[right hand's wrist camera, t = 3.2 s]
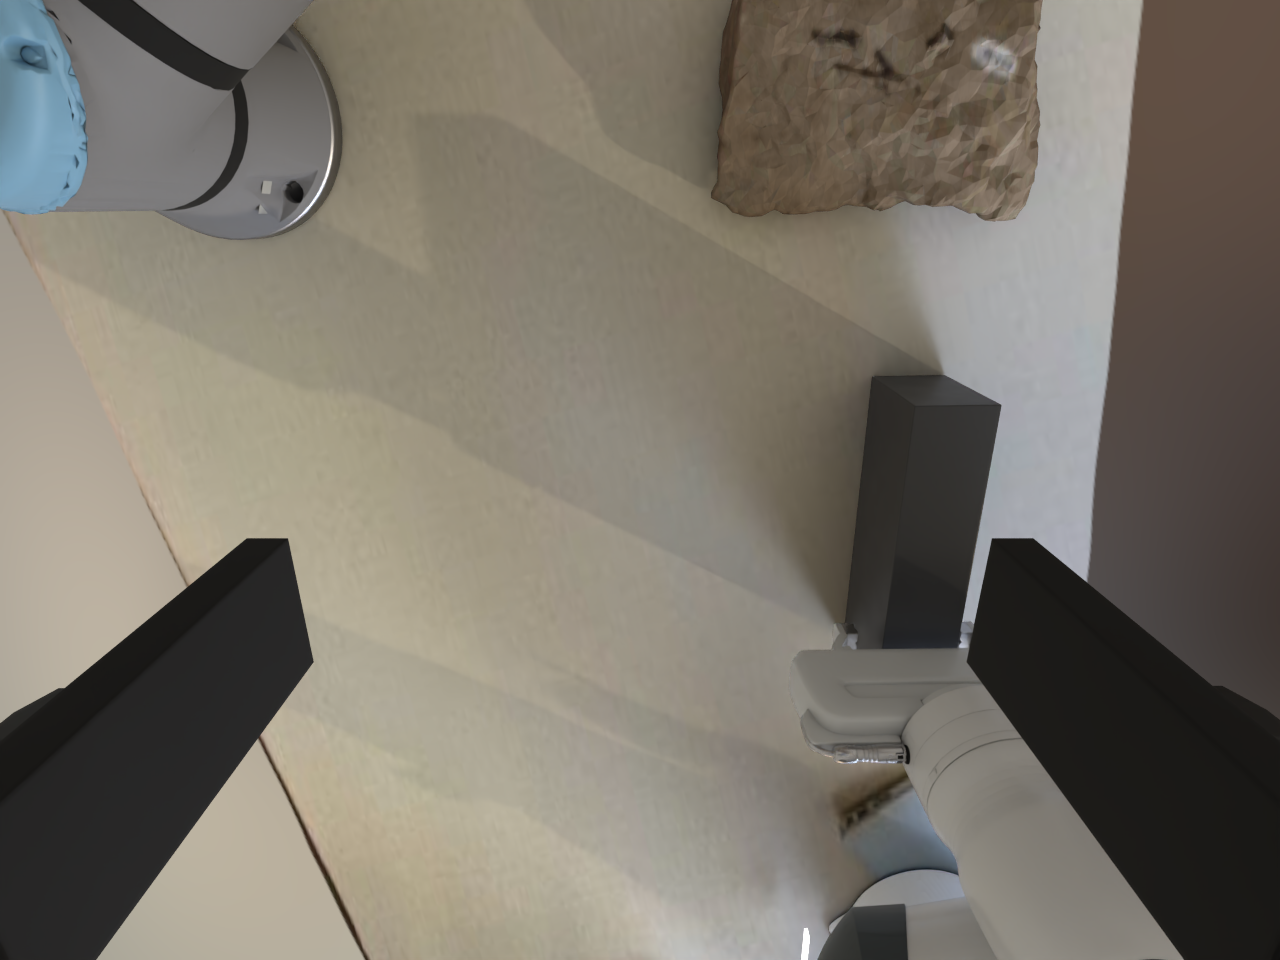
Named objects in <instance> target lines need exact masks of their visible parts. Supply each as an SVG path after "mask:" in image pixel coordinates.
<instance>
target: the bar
mask: <svg viewBox="0 0 1280 960" xmlns="http://www.w3.org/2000/svg"><path fill="white" fill-rule="evenodd" d="M1000 410H1001V404H999V403H997V402H995V401H993V400H991V399H989V398H987V397H985V396H983V395H981V394H980V393H978V392H976V391H974V390H972V389H970V388H968V387H966V386H964V385H962V384H960V383H959V382H957V381H955V380H953V379H951V378H949V377H947V376H945V375H932V376H873V377H872V383H871V392H870V401H869V410H868V419H867V428H866V438H865V447H864V456H863V465H862V474H861V483H860V492H859V501H858V510H857V519H856V529H855V538H854V547H853V556H852V565H851V574H850V583H849V592H848V601H847V611H846V620H845V623H853V624H854V628H855V629H856V630H857V632H858V641H857V642H856V645H857V649H926V648H957V646H958V641H959V635H960V630H961V624H962V619H963V613H964V608H965V602H966V597H967V591H968V586H969V580H970V575H971V569H972V564H973V558H974V553H975V547H976V542H977V536H978V531H979V526H980V520H981V515H982V509H983V504H984V498H985V493H986V487H987V482H988V476H989V471H990V465H991V460H992V454H993V449H994V443H995V438H996V432H997V427H998V421H999V416H1000Z"/></svg>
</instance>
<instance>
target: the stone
mask: <svg viewBox="0 0 1280 960" xmlns="http://www.w3.org/2000/svg"><path fill="white" fill-rule="evenodd" d="M1042 1H1043V0H732V4H731V8H730V13H729V16H728V20H727V23H726V26H725V29H724V31H723V40H722V50H721V63H720V72H719V87H720V91H721V95H722V104H723V112H722V120H721V123H720V126H719V129H718V132H717V133H718V137H719V147H718V154H717V158H718V178H717V183H716V184H715V186H714V188H713V190H712V192H711V198H713V199H715V200H717V201H719V202H721V203H723V204H725V205H726V206H727V207H728V208H729V209H730V210H731V211H732V212H733V213H737V214H740V215H743V216H746V217H756V216H762V215H764V214H766V213H768V212H770V211H772V210H774V209H775V210H777V211H780V212H781V213H782V214H806V213H811V212H815V211H831V210H835V209H838V208H839V207H841V206H843V205H852V206H865V207H868V208H870V209H872V210H876V209H877V210H879V211H882V210H885V209H888V208H891V207H892V206H894V205H896V204H898V203H900V202H903V201H907V202H909V203H911V204H913V205H928V206H932V207H937V206H954V207H956V208H958V209H961V210H963V211H965V212H967V213H976V214H977V215H978V216H979V217H980V218H982V219H983V220H986V221H1006V220H1011V219H1015V218H1016V217H1017V215H1018V213H1019V212H1020V211H1021V209H1022V208H1023V207H1024V206H1025V205H1026V202H1027V199H1028V196H1029V192H1030V189H1031V185H1032V184H1033V182H1034V176H1035V169H1036V167H1037V160H1038V143H1037V137H1038V131H1039V127H1040V121H1039V116H1040V111H1039V107H1038V103H1037V98H1036V97H1037V83H1036V80H1037V64H1036V62H1035V60H1034V59H1035V51H1036V42H1037V33H1038V31H1039V30H1040V26H1039V23H1040V18H1041V7H1042Z"/></svg>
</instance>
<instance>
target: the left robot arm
mask: <svg viewBox="0 0 1280 960" xmlns="http://www.w3.org/2000/svg"><path fill="white" fill-rule="evenodd" d="M973 628H974V624H973V623H972V622H971V621H969V622H962V624H961V630H960V635H959V641H958V646H957V648H926V649H857V645H856V642H857V641H858V632H857V630H856V629H855V628H854V624H853V623H834V626H833V635H832V638H833V645H832V650H803V651H800V652H799V653H798V654H797V655H796V656H795V657H794V658H793V660H792V662H791V667H790V678H789V692H790V696H791V699H792V702H793V704H794V707H795V709H796V711H797V713H798V715H799V717H800V719H801V720H800V725H801V728H802V731H803V735H804V738H805V741H806V743H807V745H808V747H809V748H810V749H811V750H812V751H814V752H818V753H820V754H822V755H825V756H828V757H833V759H834V761H835V762H837V763H842V764H854V763H857V762H873V763H903V766H904V768H905V770H906V772H907V774H908V776H909V779H910V781H911V783H912V785H913V787H914V789H915V791H916V793H917V796H918V798H919V800H920V802H921V804H922V806H923V808H924V810H925V813H926V815H927V817H928V819H929V821H930V823H931V825H932V827H933V829H934V831H935V832H936V834H937V835H938V837H939V838H940V840H941V841H942V842H943V843H944V844H945V845H946V846H947V847H948V848H949V850H950V851H951V852H952V854H953V855H954V857H955V859H956V862H957V867H958V874H959V876H958V875H956V874H953V873H950V872H946V871H940V870H913V871H907V872H903V873H899V874H896V875H893V876H890V877H887V878H885V879H883V880H881V881H879V882H877V883H876V884H874V885H873V886H871V887H870V888H869V889H867V890H866V891H865V892H864V893H863V894H862V895H861V896H860V897H859V898H858V899H857V901H856V902H855V904H854V905H853V907H851V908H850V909H849V911H848V912H847V913H846V914H844V915H842V916H841V917H839V918H838V919H836V920H835V921H834V922H832V923H831V925H830V926H829V932H830V936H829V938H828V939H827V941H826V943H825V945H824V947H823V949H822V951H821V953H820V955H819V957H818V960H1184V959H1183V958H1182V956H1181V955H1180V954H1179V952H1178V951H1177V950H1176V948H1175V947H1174V946H1173V944H1172V943H1171V941H1170V940H1169V939H1168V937H1167V936H1166V935H1165V933H1164V932H1163V930H1162V929H1161V928H1160V926H1159V925H1158V924H1157V922H1156V921H1155V920H1154V918H1153V917H1152V915H1151V914H1150V913H1149V911H1148V910H1147V909H1146V907H1145V906H1144V904H1143V903H1142V902H1141V900H1140V899H1139V898H1138V896H1137V895H1136V893H1135V892H1134V891H1133V889H1132V888H1131V887H1130V885H1129V884H1128V883H1127V881H1126V880H1125V878H1124V877H1123V876H1122V874H1121V873H1120V872H1119V870H1118V869H1117V867H1116V866H1115V865H1114V863H1113V862H1112V861H1111V859H1110V858H1109V857H1108V855H1107V854H1106V852H1105V851H1104V850H1103V848H1102V847H1101V846H1100V844H1099V843H1098V841H1097V840H1096V839H1095V837H1094V836H1093V835H1092V833H1091V832H1090V831H1089V829H1088V828H1087V826H1086V825H1085V824H1084V822H1083V821H1082V820H1081V818H1080V817H1079V815H1078V814H1077V813H1076V811H1075V810H1074V809H1073V807H1072V806H1071V805H1070V803H1069V802H1068V800H1067V799H1066V798H1065V796H1064V795H1063V794H1062V792H1061V791H1060V789H1059V788H1058V787H1057V785H1056V784H1055V783H1054V781H1053V780H1052V778H1051V777H1050V776H1049V774H1048V773H1047V772H1046V770H1045V769H1044V768H1043V766H1042V765H1041V763H1040V762H1039V761H1038V759H1037V758H1036V757H1035V755H1034V754H1033V752H1032V751H1031V750H1030V748H1029V747H1028V746H1027V744H1026V743H1025V742H1024V740H1023V739H1022V737H1021V736H1020V735H1019V733H1018V732H1017V731H1016V729H1015V728H1014V726H1013V725H1012V724H1011V722H1010V721H1009V720H1008V718H1007V717H1006V716H1005V714H1004V713H1003V711H1002V710H1001V709H1000V707H999V706H998V705H997V703H996V702H995V700H994V699H993V698H992V696H991V695H990V694H989V692H988V691H987V690H986V688H985V687H984V685H983V684H982V683H981V681H980V680H979V679H978V677H977V676H976V674H975V673H974V672H973V670H972V669H971V668H970V666H969V665H968V663H967V657H968V652H969V647H970V642H971V637H972V633H973ZM809 939H810V937H809V933H808V929H807V928H804V938H803V948H802V959H801V960H807V958H808V949H809Z"/></svg>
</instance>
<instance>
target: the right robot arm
mask: <svg viewBox="0 0 1280 960" xmlns="http://www.w3.org/2000/svg"><path fill="white" fill-rule="evenodd" d="M312 1H313V0H0V209H3V210H7V211H15V212H19V213H22V214H42V213H47V212H75V211H156V212H158V213H160V214H161V215H163V216H165V217H167V218H169V219H171V220H173V221H175V222H177V223H179V224H181V225H183V226H185V227H187V228H190V229H192V230H195V231H197V232H200V233H203V234H206V235H209V236H213V237H218V238H224V239H235V240H244V239H259V238H267V237H273V236H276V235H280V234H283V233H285V232H288V231H290V230H292V229H294V228H296V227H297V226H299V225H301V224H302V223H304V222H305V221H306V220H308V219H309V218H310V217H311V216H312V215H313V214H314V213H315V212H316V211H317V210H318V209H319V207H320V206H321V205H322V204H323V202H324V201H325V199H326V198H327V196H328V194H329V193H330V191H331V189H332V187H333V184H334V182H335V179H336V176H337V173H338V169H339V165H340V159H341V153H342V126H341V117H340V112H339V107H338V103H337V99H336V96H335V92H334V90H333V87H332V84H331V82H330V79H329V77H328V75H327V73H326V71H325V69H324V67H323V65H322V63H321V62H320V60H319V58H318V56H317V55H316V53H315V52H314V50H313V49H312V47H311V46H310V45H309V43H308V42H307V41H306V40H305V38H304V37H303V36H302V35H301V34H300V32H299V31H298V30H297V29H296V28H295V27H294V26H293V25H292V24H293V23H294V21H295V20H296V19H297V18H298V17H299V16H300V15H301V14H302V13H303V11H304V10H305V9H306V8H307V7H308V6H309V5H310V4H311V2H312ZM312 663H313V657H312V652H311V647H310V642H309V637H308V633H307V628H306V623H305V618H304V613H303V609H302V604H301V599H300V594H299V589H298V585H297V580H296V575H295V570H294V565H293V561H292V556H291V551H290V546H289V541H288V538H247V539H246V540H244V541H243V542H242V543H241V544H239V545H238V546H237V547H236V548H235V549H233V550H232V551H231V552H230V553H229V554H227V555H226V556H225V557H224V558H222V559H221V560H220V561H219V562H218V563H216V564H215V565H214V566H213V567H211V568H210V569H209V570H208V571H207V572H205V573H204V574H203V575H202V576H201V577H199V578H198V579H197V580H196V581H194V582H193V583H192V584H191V585H190V586H188V587H187V588H186V589H185V590H184V591H182V592H181V593H180V594H179V595H177V596H176V597H175V598H174V599H173V600H171V601H170V602H169V603H168V604H167V605H165V606H164V607H163V608H162V609H160V610H159V611H158V612H157V613H156V614H154V615H153V616H152V617H151V618H150V619H148V620H147V621H146V622H145V623H143V624H142V625H141V626H140V627H139V628H137V629H136V630H135V631H134V632H132V633H131V634H130V635H129V636H128V637H126V638H125V639H124V640H123V641H122V642H120V643H119V644H118V645H117V646H115V647H114V648H113V649H112V650H111V651H109V652H108V653H107V654H106V655H104V656H103V657H102V658H101V659H100V660H98V661H97V662H96V663H95V664H94V665H92V666H91V667H90V668H89V669H87V670H86V671H85V672H84V673H83V674H81V675H80V676H79V677H78V678H76V679H75V680H74V681H73V682H72V683H70V684H69V685H68V686H67V687H66V688H58V689H56V690H55V691H53V692H51V693H49V694H47V695H46V696H44V697H42V698H40V699H38V700H36V701H34V702H33V703H31V704H29V705H27V706H25V707H23V708H21V709H20V710H18V711H16V712H14V713H13V714H11V715H10V716H9V717H8V718H6V719H5V720H4V721H3V722H1V723H0V960H96V959H97V958H98V956H99V955H100V954H101V952H102V951H103V950H104V948H105V947H106V946H107V944H108V943H109V941H110V940H111V939H112V937H113V936H114V934H115V933H116V932H117V930H118V929H119V928H120V926H121V925H122V924H123V922H124V921H125V919H126V918H127V917H128V915H129V914H130V913H131V911H132V910H133V909H134V907H135V906H136V904H137V903H138V902H139V900H140V899H141V898H142V896H143V895H144V893H145V892H146V891H147V889H148V888H149V887H150V885H151V884H152V883H153V881H154V880H155V878H156V877H157V876H158V874H159V873H160V872H161V870H162V869H163V867H164V866H165V865H166V863H167V862H168V861H169V859H170V858H171V856H172V855H173V854H174V852H175V851H176V850H177V848H178V847H179V846H180V844H181V843H182V841H183V840H184V839H185V837H186V836H187V835H188V833H189V832H190V830H191V829H192V828H193V826H194V825H195V824H196V822H197V821H198V820H199V818H200V817H201V815H202V814H203V813H204V811H205V810H206V809H207V807H208V806H209V804H210V803H211V802H212V800H213V799H214V798H215V796H216V795H217V794H218V792H219V791H220V789H221V788H222V787H223V785H224V784H225V783H226V781H227V780H228V778H229V777H230V776H231V774H232V773H233V772H234V770H235V769H236V767H237V766H238V765H239V763H240V762H241V761H242V759H243V758H244V757H245V755H246V754H247V752H248V751H249V750H250V748H251V747H252V746H253V744H254V743H255V742H256V740H257V739H258V737H259V736H260V735H261V733H262V732H263V731H264V729H265V728H266V726H267V725H268V724H269V722H270V721H271V720H272V718H273V717H274V716H275V714H276V713H277V711H278V710H279V709H280V707H281V706H282V705H283V703H284V702H285V700H286V699H287V698H288V696H289V695H290V694H291V692H292V691H293V690H294V688H295V687H296V685H297V684H298V683H299V681H300V680H301V679H302V677H303V676H304V674H305V673H306V672H307V670H308V669H309V668H310V666H311V665H312ZM967 663H968V665H969V666H970V668H971V669H972V670H973V672H974V673H975V674H976V676H977V677H978V679H979V680H980V681H981V683H982V684H983V685H984V687H985V688H986V690H987V691H988V692H989V694H990V695H991V696H992V698H993V699H994V700H995V702H996V703H997V705H998V706H999V707H1000V709H1001V710H1002V711H1003V713H1004V714H1005V716H1006V717H1007V718H1008V720H1009V721H1010V722H1011V724H1012V725H1013V726H1014V728H1015V729H1016V731H1017V732H1018V733H1019V735H1020V736H1021V737H1022V739H1023V740H1024V742H1025V743H1026V744H1027V746H1028V747H1029V748H1030V750H1031V751H1032V752H1033V754H1034V755H1035V757H1036V758H1037V759H1038V761H1039V762H1040V763H1041V765H1042V766H1043V768H1044V769H1045V770H1046V772H1047V773H1048V774H1049V776H1050V777H1051V778H1052V780H1053V781H1054V783H1055V784H1056V785H1057V787H1058V788H1059V789H1060V791H1061V792H1062V794H1063V795H1064V796H1065V798H1066V799H1067V800H1068V802H1069V803H1070V805H1071V806H1072V807H1073V809H1074V810H1075V811H1076V813H1077V814H1078V815H1079V817H1080V818H1081V820H1082V821H1083V822H1084V824H1085V825H1086V826H1087V828H1088V829H1089V831H1090V832H1091V833H1092V835H1093V836H1094V837H1095V839H1096V840H1097V841H1098V843H1099V844H1100V846H1101V847H1102V848H1103V850H1104V851H1105V852H1106V854H1107V855H1108V857H1109V858H1110V859H1111V861H1112V862H1113V863H1114V865H1115V866H1116V867H1117V869H1118V870H1119V872H1120V873H1121V874H1122V876H1123V877H1124V878H1125V880H1126V881H1127V883H1128V884H1129V885H1130V887H1131V888H1132V889H1133V891H1134V892H1135V893H1136V895H1137V896H1138V898H1139V899H1140V900H1141V902H1142V903H1143V904H1144V906H1145V907H1146V909H1147V910H1148V911H1149V913H1150V914H1151V915H1152V917H1153V918H1154V920H1155V921H1156V922H1157V924H1158V925H1159V926H1160V928H1161V929H1162V930H1163V932H1164V933H1165V935H1166V936H1167V937H1168V939H1169V940H1170V941H1171V943H1172V944H1173V946H1174V947H1175V948H1176V950H1177V951H1178V952H1179V954H1180V955H1181V956H1182V958H1183V959H1184V960H1280V720H1279V719H1278V718H1277V717H1275V716H1274V715H1273V714H1271V713H1270V712H1269V711H1268V710H1266V709H1264V708H1262V707H1260V706H1259V705H1257V704H1255V703H1253V702H1251V701H1249V700H1247V699H1245V698H1244V697H1242V696H1240V695H1238V694H1236V693H1234V692H1233V691H1231V690H1229V689H1227V688H1225V687H1223V686H1212V685H1211V684H1210V683H1208V682H1207V681H1206V680H1205V679H1204V678H1202V677H1201V676H1200V675H1199V674H1197V673H1196V672H1195V671H1194V670H1193V669H1191V668H1190V667H1189V666H1188V665H1186V664H1185V663H1184V662H1183V661H1182V660H1180V659H1179V658H1178V657H1177V656H1175V655H1174V654H1173V653H1172V652H1171V651H1169V650H1168V649H1167V648H1166V647H1165V646H1163V645H1162V644H1161V643H1160V642H1158V641H1157V640H1156V639H1155V638H1154V637H1152V636H1151V635H1150V634H1149V633H1147V632H1146V631H1145V630H1144V629H1143V628H1141V627H1140V626H1139V625H1138V624H1137V623H1135V622H1134V621H1133V620H1132V619H1130V618H1129V617H1128V616H1127V615H1126V614H1124V613H1123V612H1122V611H1121V610H1120V609H1118V608H1117V607H1116V606H1115V605H1113V604H1112V603H1111V602H1110V601H1109V600H1107V599H1106V598H1105V597H1104V596H1103V595H1101V594H1100V593H1099V592H1098V591H1096V590H1095V589H1094V588H1093V587H1091V586H1090V585H1089V584H1088V583H1087V582H1086V581H1084V580H1083V579H1082V578H1081V577H1079V576H1078V575H1077V574H1076V573H1075V572H1073V571H1072V570H1071V569H1070V568H1069V567H1067V566H1066V565H1065V564H1064V563H1062V562H1061V561H1060V560H1059V559H1058V558H1056V557H1055V556H1054V555H1053V554H1051V553H1050V552H1049V551H1048V550H1047V549H1045V548H1044V547H1043V546H1042V545H1041V544H1039V543H1038V542H1037V541H1036V540H1034V539H1033V538H992V541H991V546H990V551H989V556H988V561H987V565H986V570H985V575H984V580H983V585H982V589H981V594H980V599H979V604H978V609H977V613H976V618H975V623H974V628H973V633H972V637H971V642H970V647H969V652H968V657H967Z"/></svg>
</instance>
